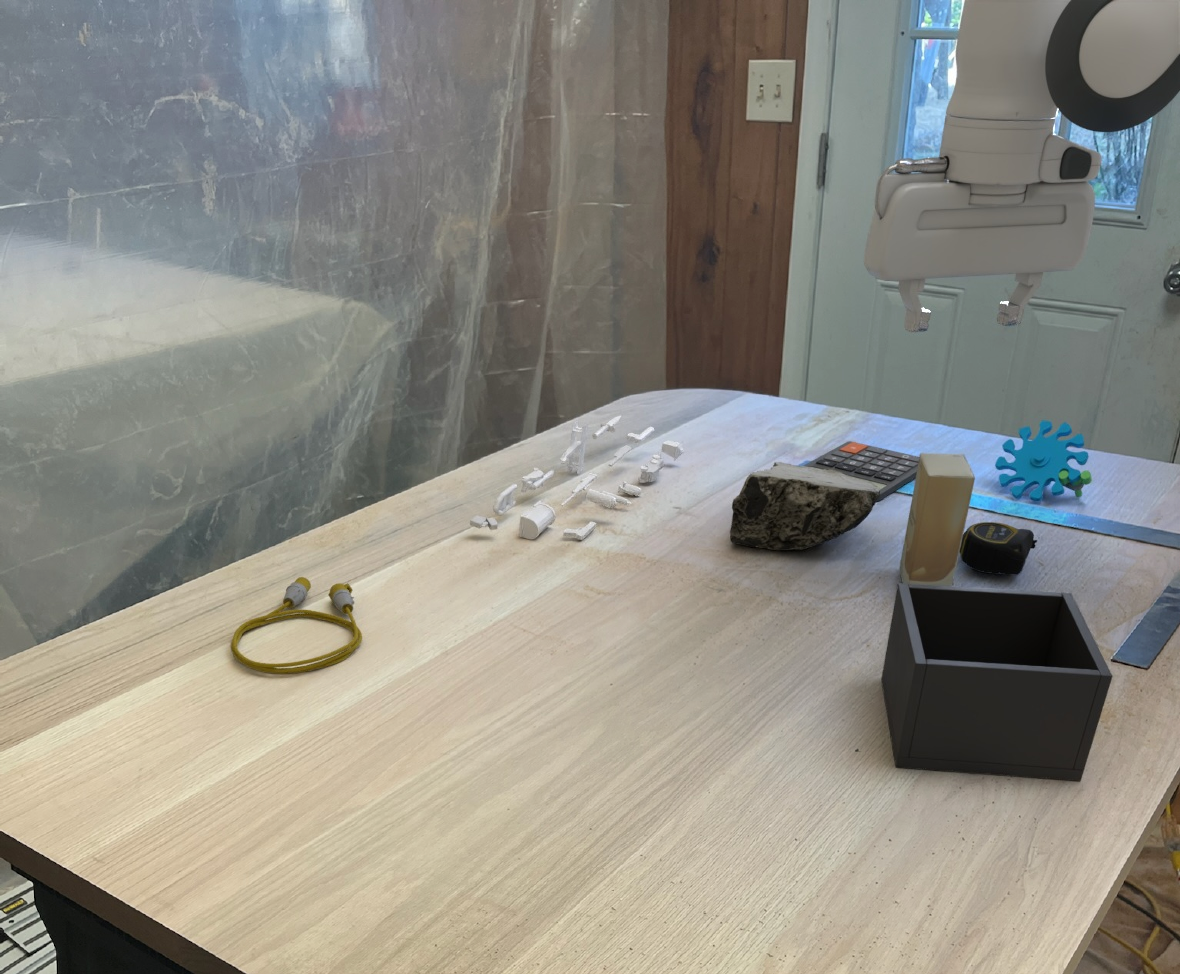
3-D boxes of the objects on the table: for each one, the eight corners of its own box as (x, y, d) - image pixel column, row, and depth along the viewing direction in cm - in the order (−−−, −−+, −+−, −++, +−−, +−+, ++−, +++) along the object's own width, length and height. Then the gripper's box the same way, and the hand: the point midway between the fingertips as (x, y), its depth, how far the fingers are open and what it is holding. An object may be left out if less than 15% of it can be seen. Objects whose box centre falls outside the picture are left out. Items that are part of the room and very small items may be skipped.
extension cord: (411, 614, 108) (409, 594, 107) (305, 689, 96) (302, 668, 95) (307, 588, 112) (304, 569, 111) (194, 657, 101) (189, 636, 100)
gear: (976, 474, 135) (1030, 404, 134) (985, 498, 140) (1038, 431, 139) (1057, 513, 129) (1114, 441, 128) (1063, 537, 134) (1119, 468, 133)
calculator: (934, 458, 141) (879, 493, 131) (933, 466, 141) (878, 501, 132) (849, 439, 147) (790, 471, 137) (848, 446, 147) (789, 478, 138)
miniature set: (607, 434, 148) (694, 463, 145) (468, 547, 123) (568, 585, 120) (614, 386, 144) (703, 415, 141) (471, 493, 119) (575, 531, 116)
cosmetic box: (897, 569, 117) (918, 450, 110) (941, 571, 116) (964, 452, 109) (906, 596, 112) (928, 473, 105) (951, 598, 111) (976, 475, 104)
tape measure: (1018, 586, 114) (1026, 551, 111) (949, 572, 116) (956, 537, 114) (1032, 562, 118) (1040, 527, 116) (965, 548, 121) (972, 514, 119)
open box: (1045, 690, 97) (1071, 592, 92) (1080, 781, 86) (1113, 676, 81) (881, 679, 98) (897, 582, 93) (895, 767, 87) (915, 663, 82)
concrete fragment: (743, 479, 131) (864, 415, 123) (780, 564, 132) (903, 505, 124) (697, 490, 118) (828, 419, 110) (738, 583, 119) (871, 519, 111)
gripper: (899, 163, 92) (874, 343, 100) (1119, 156, 96) (1079, 329, 104) (863, 154, 97) (842, 326, 105) (1075, 148, 101) (1039, 313, 109)
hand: (962, 327), depth 105 cm, fingers open, 8 cm apart
